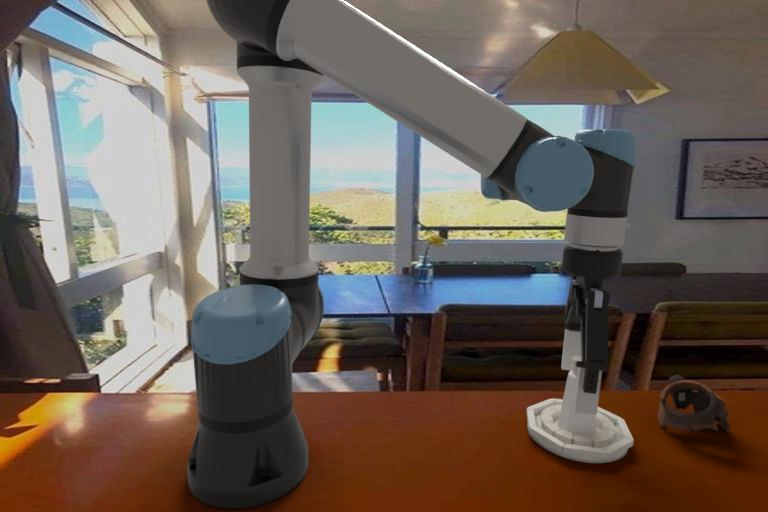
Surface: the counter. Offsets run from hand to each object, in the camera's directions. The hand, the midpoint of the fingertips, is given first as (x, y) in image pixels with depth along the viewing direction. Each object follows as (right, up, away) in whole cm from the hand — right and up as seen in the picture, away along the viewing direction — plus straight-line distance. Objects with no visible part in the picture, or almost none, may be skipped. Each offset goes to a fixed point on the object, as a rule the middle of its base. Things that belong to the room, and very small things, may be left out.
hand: (577, 389), depth 69 cm
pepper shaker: (0, -6, +1) cm, 6 cm away
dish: (0, -7, +1) cm, 7 cm away
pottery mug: (+19, -7, +4) cm, 21 cm away
